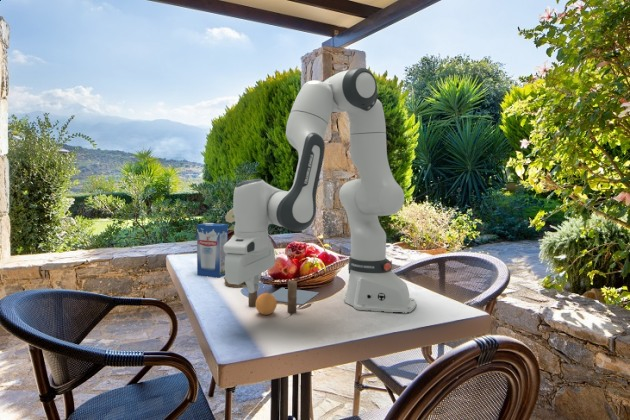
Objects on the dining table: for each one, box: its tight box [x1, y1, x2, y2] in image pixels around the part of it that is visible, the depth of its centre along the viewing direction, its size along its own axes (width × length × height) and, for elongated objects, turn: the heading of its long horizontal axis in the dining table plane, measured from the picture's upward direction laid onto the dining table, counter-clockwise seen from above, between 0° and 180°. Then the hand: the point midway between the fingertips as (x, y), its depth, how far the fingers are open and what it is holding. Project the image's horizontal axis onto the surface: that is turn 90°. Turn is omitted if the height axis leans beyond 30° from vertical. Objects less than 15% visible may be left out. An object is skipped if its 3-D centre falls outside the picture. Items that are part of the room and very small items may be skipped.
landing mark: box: [270, 287, 320, 306], centre depth 134 cm, size 14×14×1 cm
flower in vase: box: [224, 207, 235, 231], centre depth 181 cm, size 13×11×25 cm
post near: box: [286, 279, 298, 314], centre depth 118 cm, size 3×3×9 cm
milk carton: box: [196, 222, 229, 279], centre depth 159 cm, size 10×6×20 cm, turn 72°
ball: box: [255, 292, 278, 316], centre depth 116 cm, size 6×6×6 cm
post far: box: [248, 290, 258, 308], centre depth 123 cm, size 3×3×9 cm
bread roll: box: [223, 276, 248, 288], centre depth 147 cm, size 10×10×8 cm
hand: (253, 291), depth 109 cm, fingers closed
